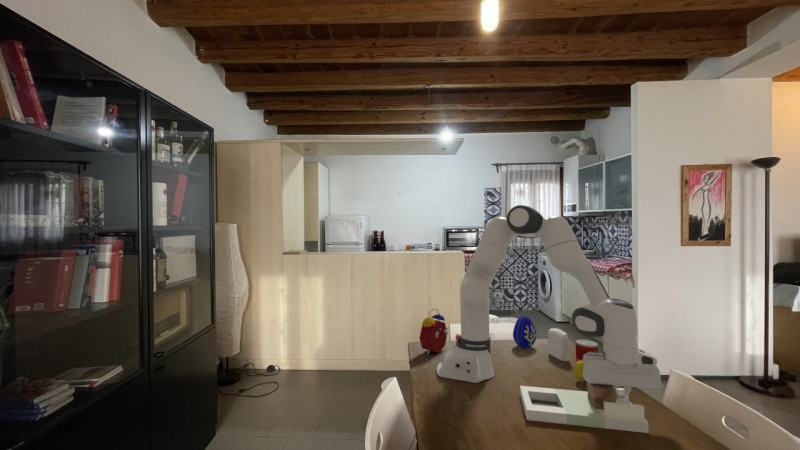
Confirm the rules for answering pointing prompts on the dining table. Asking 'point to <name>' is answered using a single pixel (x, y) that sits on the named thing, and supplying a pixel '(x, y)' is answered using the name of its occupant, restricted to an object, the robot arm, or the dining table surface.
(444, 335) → the alarm clock
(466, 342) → the robot arm
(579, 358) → the canned food
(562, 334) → the white rounded block
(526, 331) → the ornament
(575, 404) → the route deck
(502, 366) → the dining table surface
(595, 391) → the walnut block
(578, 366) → the lemon
